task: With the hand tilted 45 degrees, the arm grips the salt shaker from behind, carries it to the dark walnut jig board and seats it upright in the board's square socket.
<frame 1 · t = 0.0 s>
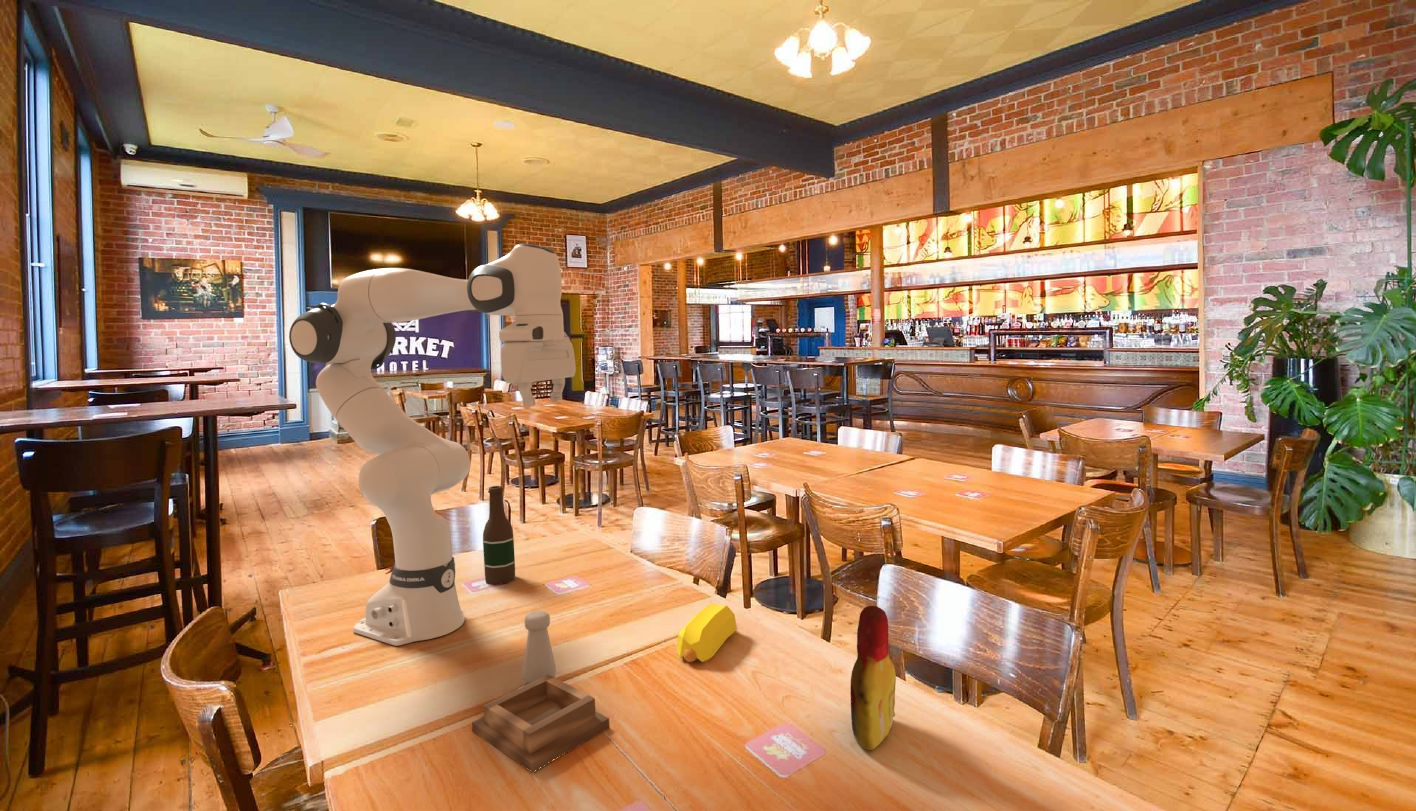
hand: (543, 404, 127), 48 cm above the table, tool pointing down, fingers open, 8 cm apart
bottle: (871, 735, 100), on the table
yellow faceted rounded part: (707, 647, 131), on the table
jig board: (540, 729, 104), on the table
beer bottle: (500, 580, 169), on the table
salt shaker: (539, 686, 117), on the table
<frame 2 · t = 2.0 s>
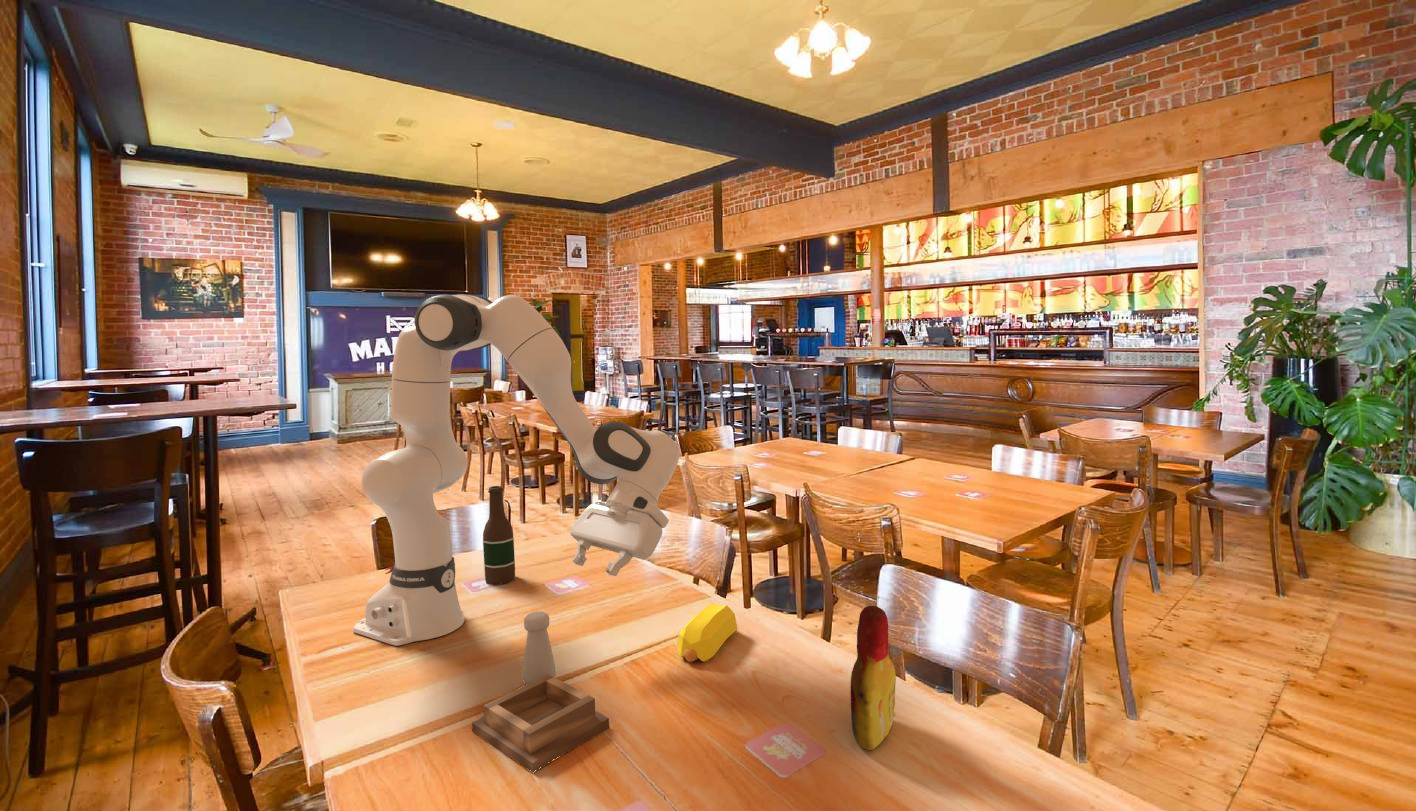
hand: (593, 568, 124), 18 cm above the table, tool tilted 45°, fingers open, 8 cm apart
nothing on the table moved.
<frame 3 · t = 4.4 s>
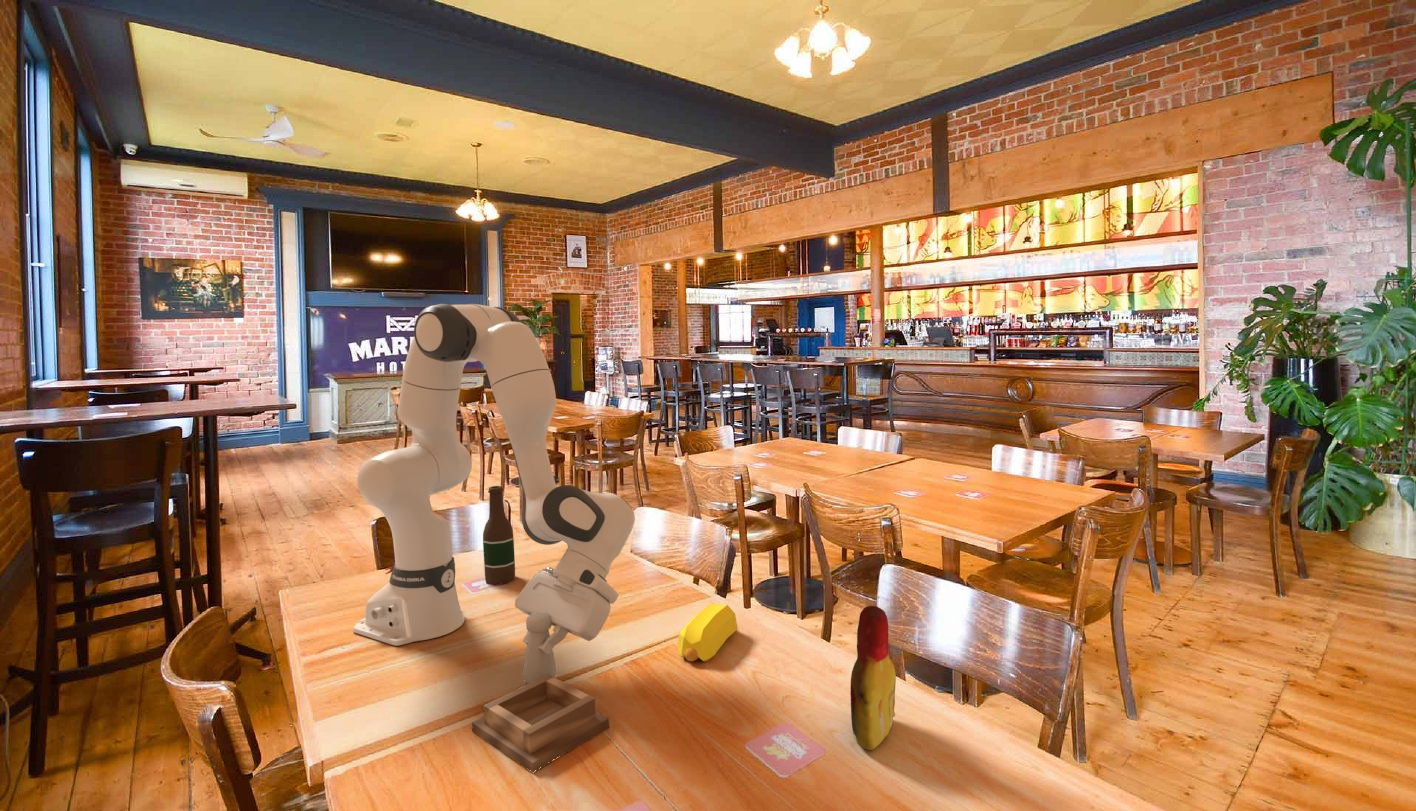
hand: (535, 647, 115), 7 cm above the table, tool tilted 45°, fingers closed on salt shaker, 3 cm apart
salt shaker: (539, 686, 117), on the table, touching gripper
everything else where it was.
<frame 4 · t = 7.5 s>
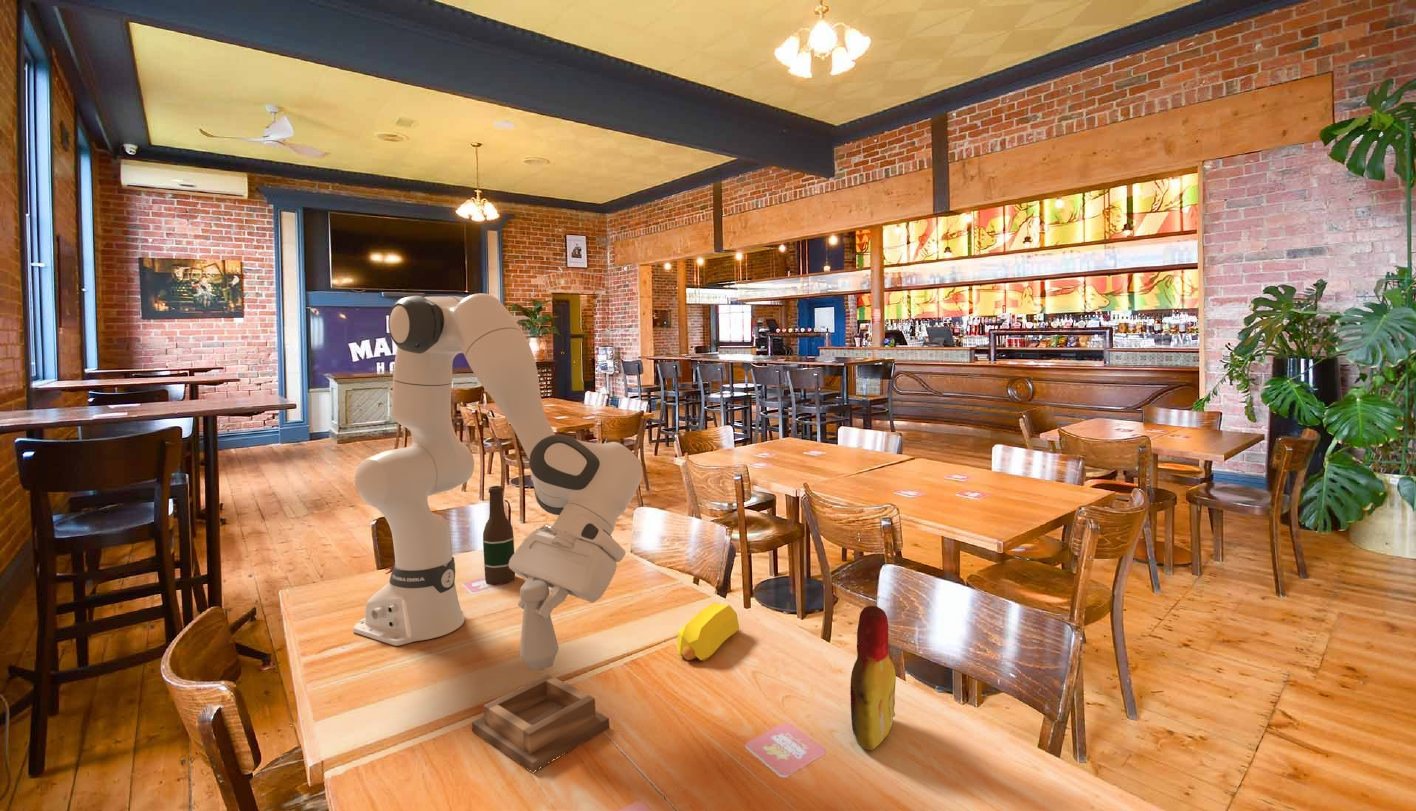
hand: (531, 611, 101), 19 cm above the table, tool tilted 45°, fingers closed on salt shaker, 3 cm apart
salt shaker: (540, 664, 103), point 10 cm above the table, touching gripper
everything else where it was.
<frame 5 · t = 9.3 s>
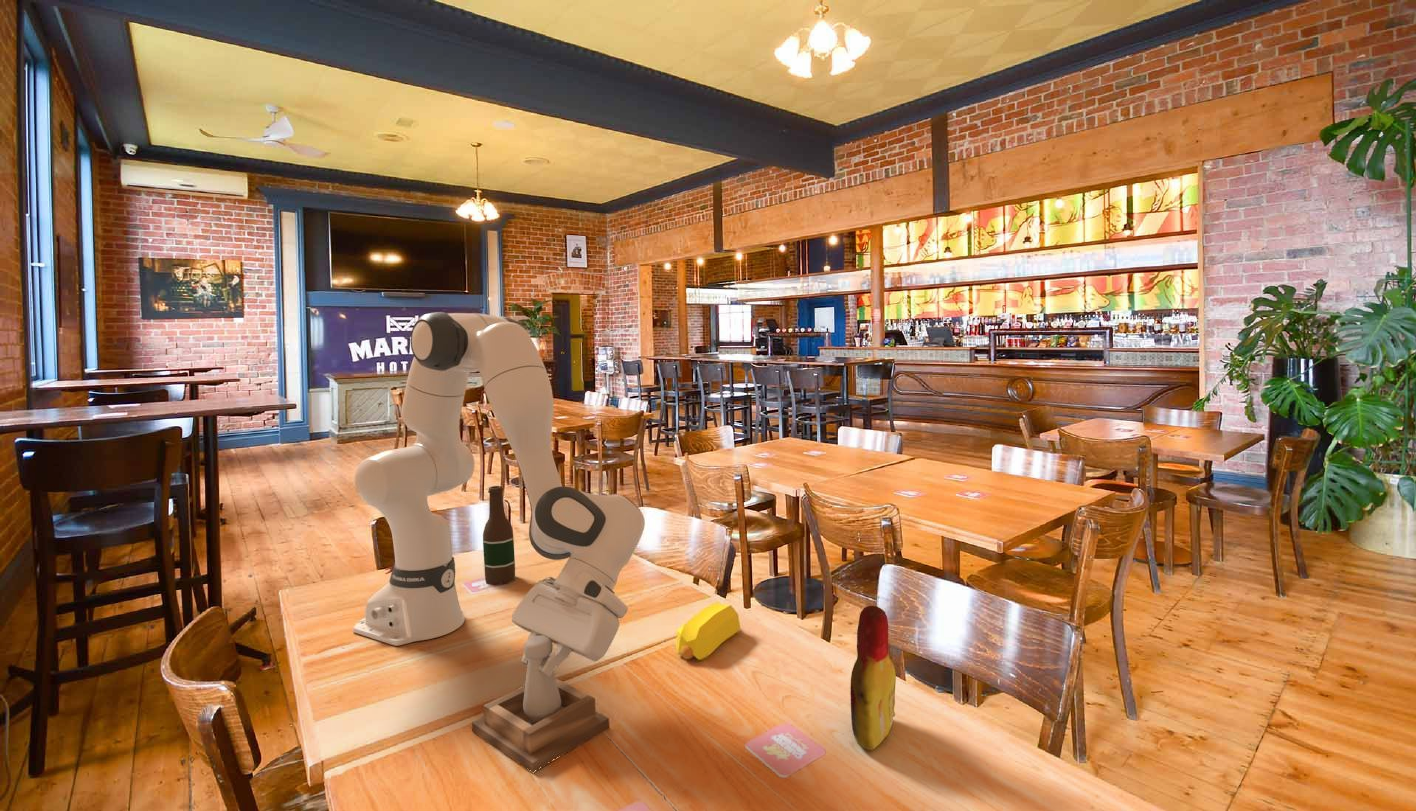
hand: (534, 668, 102), 10 cm above the table, tool tilted 45°, fingers closed on salt shaker, 3 cm apart
salt shaker: (543, 719, 104), point 1 cm above the table, touching gripper, jig board
everything else where it was.
when the fingers open (9 cm above the table, at t = 9.8 s): salt shaker stays where it is, resting on jig board.
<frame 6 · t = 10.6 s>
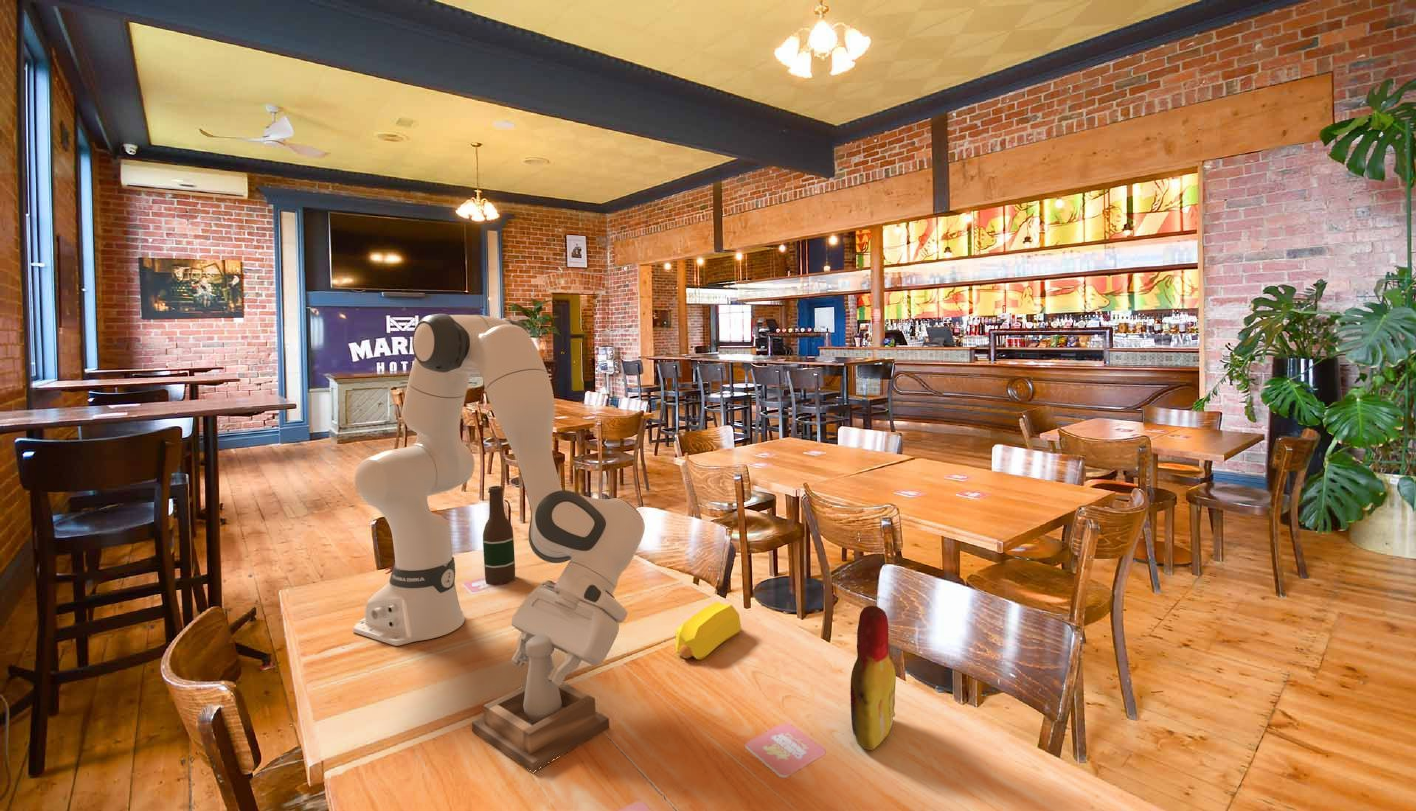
hand: (534, 673, 102), 9 cm above the table, tool tilted 45°, fingers open, 8 cm apart
salt shaker: (543, 720, 104), point 1 cm above the table, touching jig board
everything else where it was.
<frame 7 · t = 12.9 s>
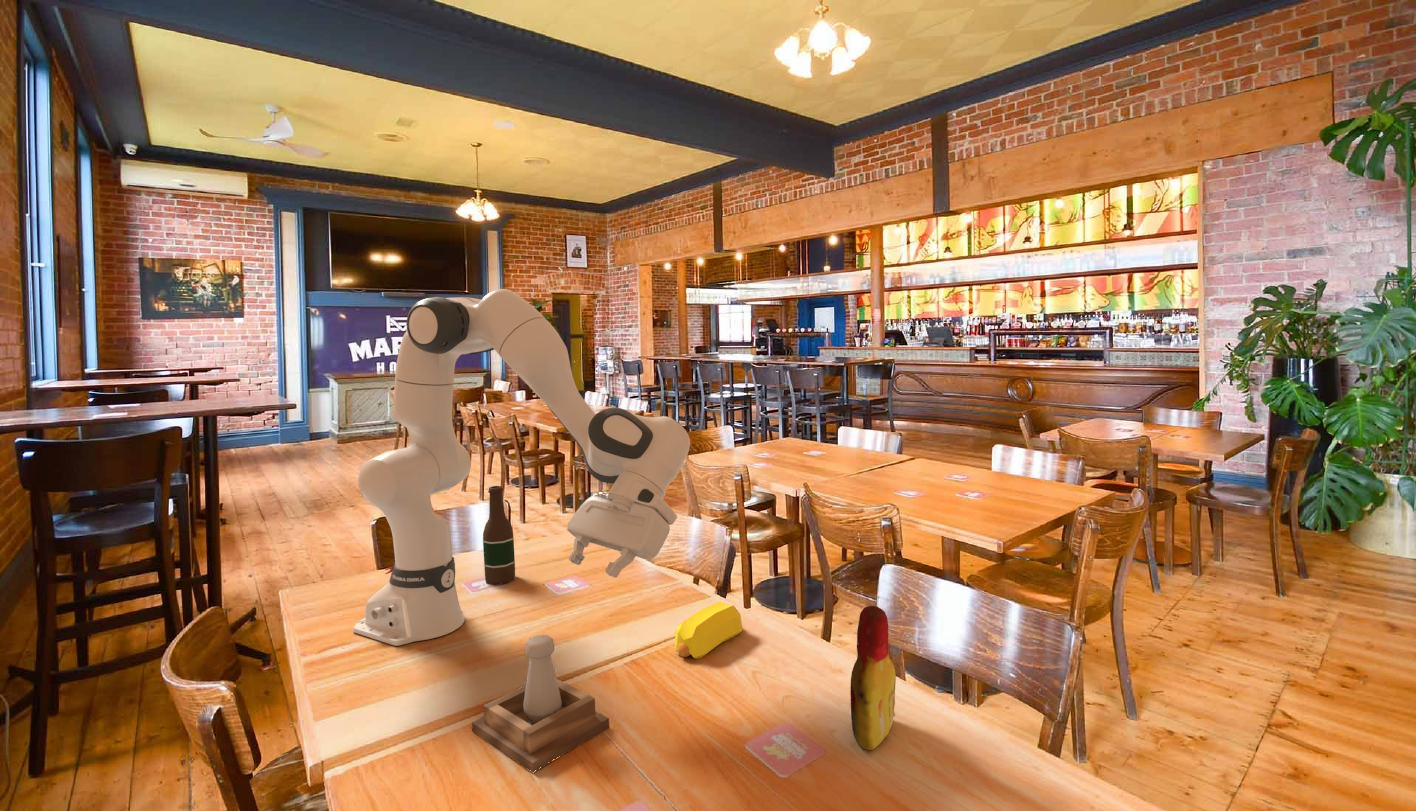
hand: (591, 568, 110), 22 cm above the table, tool tilted 45°, fingers open, 8 cm apart
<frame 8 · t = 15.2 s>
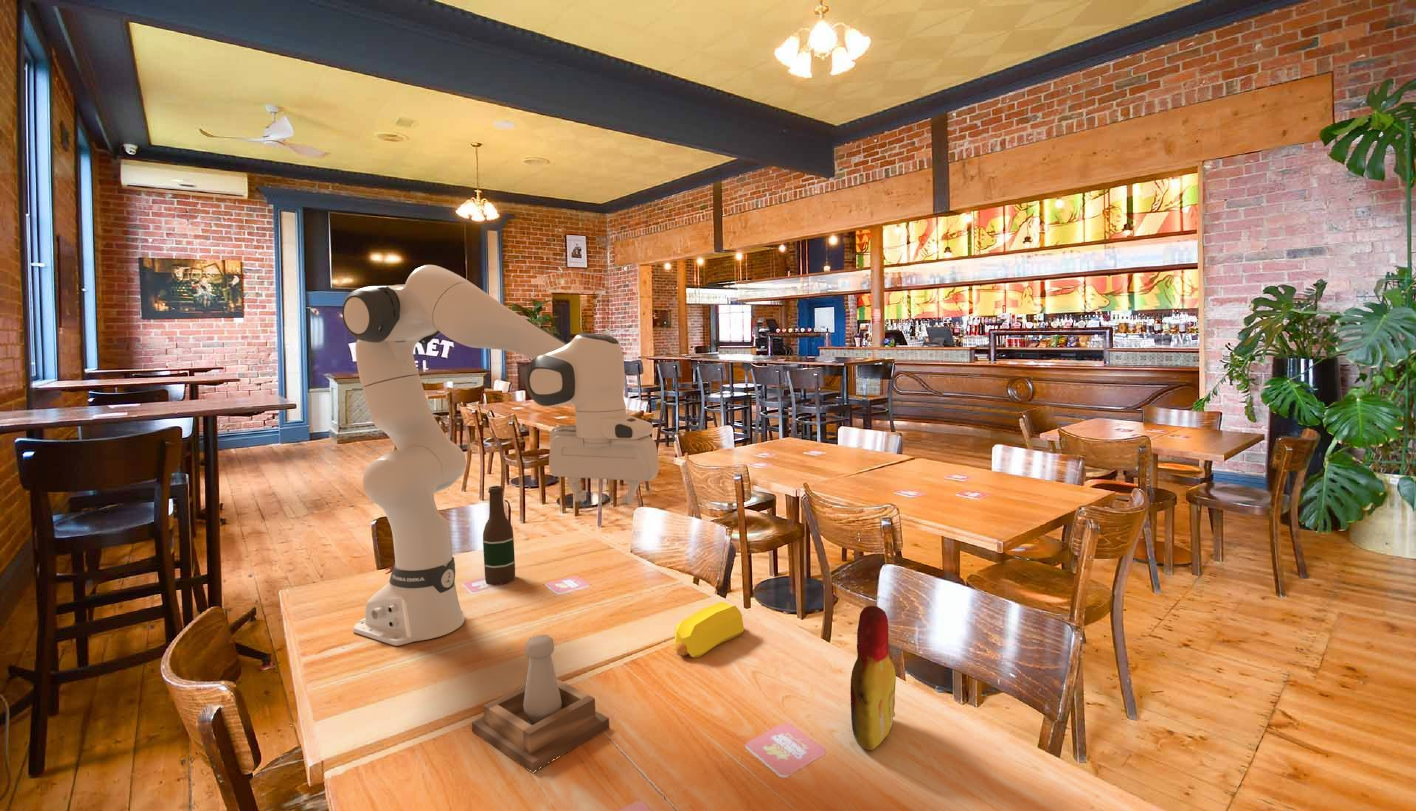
hand: (604, 502, 119), 31 cm above the table, tool pointing down, fingers open, 8 cm apart
at the end: salt shaker inside the target area on the jig board (0.5 cm from its centre), point 1.3 cm above the jig board's base; salt shaker tilted 0°; the gripper is holding nothing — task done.
